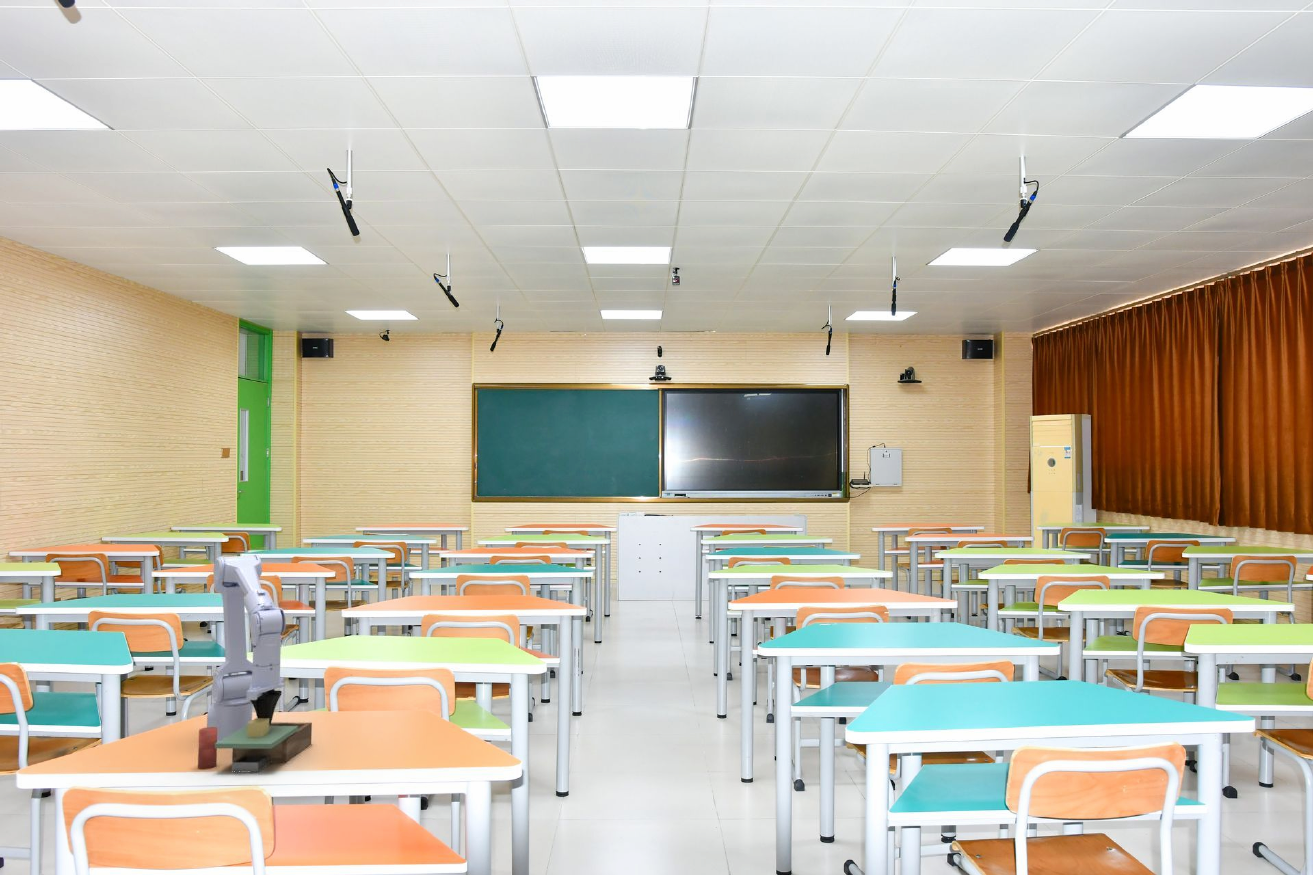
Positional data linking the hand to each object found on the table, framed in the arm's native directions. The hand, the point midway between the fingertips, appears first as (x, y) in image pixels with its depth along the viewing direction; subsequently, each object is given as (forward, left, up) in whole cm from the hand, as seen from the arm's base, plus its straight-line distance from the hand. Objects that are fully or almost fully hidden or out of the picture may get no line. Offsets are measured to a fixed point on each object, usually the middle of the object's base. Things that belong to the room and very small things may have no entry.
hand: (264, 725), depth 197 cm
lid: (0, -3, -2) cm, 4 cm away
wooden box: (0, +5, -7) cm, 9 cm away
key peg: (-10, -5, -7) cm, 13 cm away
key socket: (0, -6, -7) cm, 10 cm away
